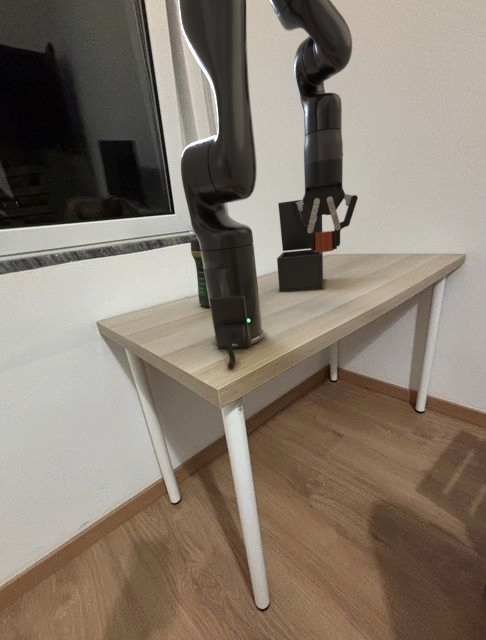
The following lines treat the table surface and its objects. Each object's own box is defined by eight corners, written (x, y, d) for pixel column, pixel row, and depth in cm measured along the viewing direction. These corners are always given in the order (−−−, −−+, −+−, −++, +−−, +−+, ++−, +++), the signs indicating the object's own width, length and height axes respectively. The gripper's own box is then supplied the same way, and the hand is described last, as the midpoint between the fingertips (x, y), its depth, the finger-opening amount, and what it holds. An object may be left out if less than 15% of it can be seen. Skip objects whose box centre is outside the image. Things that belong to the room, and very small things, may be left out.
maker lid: (321, 197, 88) (321, 194, 92) (278, 203, 92) (280, 200, 96) (322, 247, 96) (322, 242, 100) (282, 251, 100) (284, 246, 104)
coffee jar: (209, 309, 83) (197, 237, 75) (196, 305, 89) (183, 237, 82) (238, 301, 88) (230, 232, 80) (224, 297, 94) (215, 233, 86)
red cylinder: (333, 251, 66) (333, 231, 64) (313, 252, 67) (313, 233, 65) (333, 249, 70) (333, 230, 68) (314, 250, 71) (314, 232, 69)
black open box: (322, 289, 89) (322, 254, 85) (279, 291, 92) (276, 258, 88) (323, 279, 101) (322, 248, 97) (284, 282, 104) (282, 252, 100)
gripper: (285, 164, 60) (290, 254, 67) (362, 151, 56) (359, 248, 63) (289, 169, 67) (293, 250, 73) (359, 158, 63) (356, 245, 70)
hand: (324, 249), depth 68 cm, fingers closed on red cylinder, 4 cm apart
